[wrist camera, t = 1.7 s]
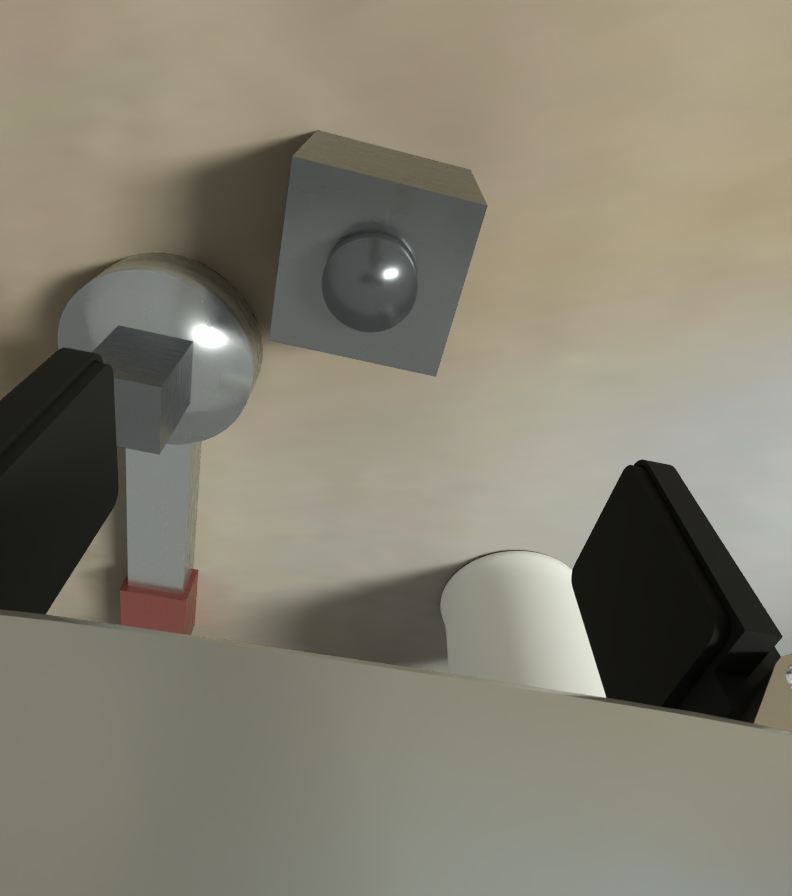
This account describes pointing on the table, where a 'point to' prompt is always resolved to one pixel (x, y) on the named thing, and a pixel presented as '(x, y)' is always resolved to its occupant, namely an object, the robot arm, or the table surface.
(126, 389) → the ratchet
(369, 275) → the cube with domed knob
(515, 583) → the mug
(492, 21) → the table surface
